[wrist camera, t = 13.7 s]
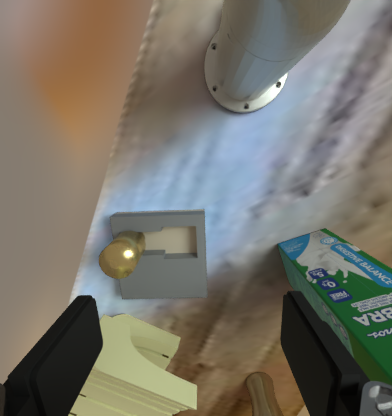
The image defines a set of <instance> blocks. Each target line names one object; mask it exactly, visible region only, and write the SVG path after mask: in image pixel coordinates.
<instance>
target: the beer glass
mask: <svg viewBox="0 0 392 416" xmlns="http://www.w3.org/2000/svg"><path fill="white" fill-rule="evenodd" d="M246 387H247V390H248V393H249V396H250V399H251V405H252V416H284V415H283V413H282V411H281V409H280V407H279V404H278V402H277V399H276V396H275V392H274V385H273V380H272V378H271V377H270V376H269V375H268V374H266V373H263V372H256V373H253V374H251V375H250V376H249V377H248V378H247V379H246Z"/></svg>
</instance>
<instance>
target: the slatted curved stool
mask: <svg viewBox="0 0 392 416" xmlns="http://www.w3.org/2000/svg"><path fill="white" fill-rule="evenodd" d="M100 327H101V332H102V338H103V347H102V350H101V352H100V354H99V356H98V358H97V360H96V362H95V364H94V366H93V368H92V370H91V372H90V374H89V376H88V378H87V380H86V382H85V384H84V386H83V388H82V390H81V392H80V394H79V395H78V397H77V399H76V401H75V403H74V405H73V407H72V409H71V411H70V413H69V415H68V416H172V414H176V413H178V412H179V410H181V411H183V410H187V408H188V409H196V408H197V385H195V384H192V383H190V382H188V381H186V380H183V379H181V378H179V377H177V376H175V375H173V374H171V373H169V372H167V371H165V369H166V367H167V366H168V364H169V362H170V360H171V358H173V356H174V354H175V353H176V351H177V349H178V346H179V342H180V339H181V337H178V336H176V335H174V334H171V333H169V332H167V331H164V330H162V329H160V328H157V327H155V326H153V325H150V324H148V323H146V322H143V321H141V320H139V319H136V318H134V317H132V316H129V315H126V314H120V315H116V316H114V317H109V316H107V315H103V317H102V318H101V320H100Z"/></svg>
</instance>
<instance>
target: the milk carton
mask: <svg viewBox="0 0 392 416" xmlns="http://www.w3.org/2000/svg"><path fill="white" fill-rule="evenodd" d="M278 248H279V251H280V254H281V258H282V261H283V264H284V267H285V271H286V274H287V277H288V280H289V284H290V285H291V287H292V288H293V289H294V291H301V292H302V293H303V295H304V296H305V297H306V299H307V300H308V302H309V303H310V304H311V306H312V307H313V309H314V310H315V311H316V313H317V314H318V315H319V317H320V318H321V320H322V321H326V322H327V323H328V324H329V325H330V327H331V328H332V329H333V331H334V332H335V333H336V335H337V336H338V338H339V339H340V340H341V342H342V343H343V344H344V346H345V347H346V348H347V350H348V351H349V352H350V354H351V355H352V356H353V358H354V359H355V360H356V362H357V363H358V365H359V366H360V367H361V369H362V370H363V371H364V373H365V374H366V375H367V377H368V378H369V379H370V381H378V382H383V383H386V384H388V385H391V386H392V269H391V268H390V267H388V266H387V265H385V264H383V263H382V262H380V261H378V260H377V259H375V258H373V257H372V256H370V255H368V254H367V253H365V252H363V251H362V250H360V249H359V248H357V247H355V246H354V245H352V244H350V243H349V242H347V241H345V240H344V239H342V238H340V237H339V236H337V235H336V234H334V233H332V232H331V231H329V230H327V229H326V228H325V229H322V230H319V231H316V232H313V233H310V234H307V235H303V236H300V237H297V238H294V239H291V240H288V241H285V242H282V243H279V244H278Z"/></svg>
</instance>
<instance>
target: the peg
mask: <svg viewBox="0 0 392 416" xmlns="http://www.w3.org/2000/svg"><path fill="white" fill-rule="evenodd" d="M145 249H146V243H145V235H144V234H143V232H135V231H124V232H122V233H120V234H119V235H118V236H117V237H116V238H115V239H114V240H113V241H112V242H111V243H110V244H109V245H108V246H107V247H106V248H105V249H104V250H103V251H102V252H101V254H100V256H99V265H100V267H101V269H102V271H103V272H104V273H105V274H106V275H108V276H110V277H112V278H116V279H122V278H125V277H128V276H129V275H130V274H131V273H132V272H133V271H134V269H135V267H136V265H137V264H138V262H139V260H140V259H141V257H142V255H143V253H144V252H145Z"/></svg>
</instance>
